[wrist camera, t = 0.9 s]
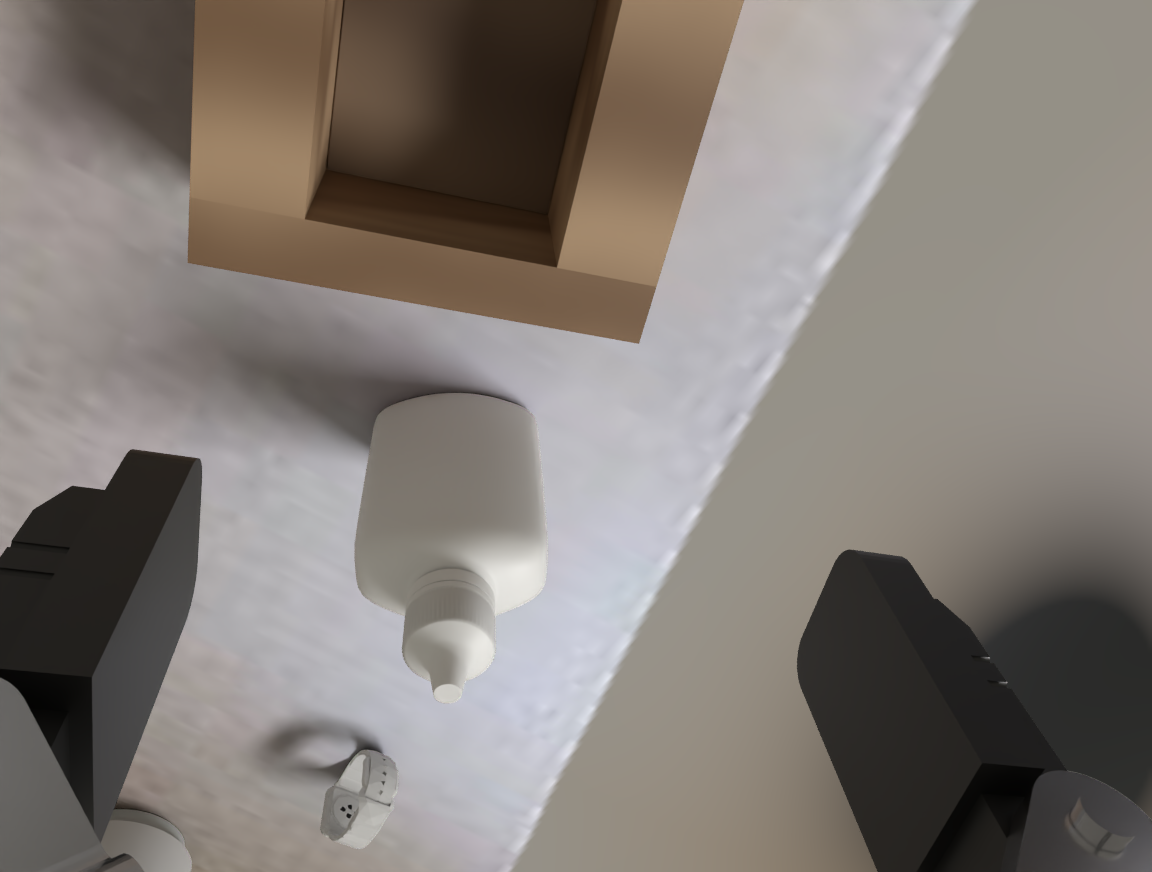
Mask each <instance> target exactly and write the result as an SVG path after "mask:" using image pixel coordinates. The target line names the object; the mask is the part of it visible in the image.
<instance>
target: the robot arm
mask: <svg viewBox="0 0 1152 872" xmlns="http://www.w3.org/2000/svg"><path fill="white" fill-rule="evenodd" d="M201 486H202V465H201V460H200V459H199V458H192V457H185V456H178V455H170V454H163V453H156V452H149V451H141V450H134V449H132V450H130V451H129V452H128V453H127V454H126V456H125V457H124V459H123V461H122V462H121V464H120V466H119V467H118V469H117V471H116V472H115V474H114V476H113V477H112V479H111V481H110V482H109V484H108V486H107V487H106V489H105V490H100V489H93V488H85V487H77V486H71V487H70V488H68V489H66V490H65V491H63V492H61V493H60V494H58V495H57V496H55V497H53V498H52V499H50V500H48V501H47V502H45V503H44V504H42V505H40V506H39V507H37V508H35V509H34V510H33V511H32V512H31V514H30V515H29V517H28V518H27V520H26V521H25V522H24V524H23V525H22V527H21V528H20V530H19V531H18V532H17V534H16V535H15V537H14V538H13V540H12V543H11V547H7V548H6V550H5V551H4V553H3V554H2V555H1V557H0V872H144V870H143V869H142V868H141V866H140V865H139V863H138V862H137V861H136V860H135V859H134V858H133V857H132V856H130V855H129V854H126V853H123V854H120V855H118V856H116V857H114V858H111V857H109V855H108V854H107V853H106V851H105V850H104V848H103V847H102V845H101V841H102V839H103V836H104V833H105V831H106V828H107V826H108V823H109V820H110V818H111V815H112V813H113V810H114V807H115V805H116V802H117V799H118V797H119V794H120V792H121V789H122V786H123V784H124V781H125V779H126V776H127V773H128V771H129V768H130V766H131V763H132V760H133V758H134V755H135V753H136V750H137V747H138V745H139V742H140V740H141V737H142V734H143V732H144V729H145V726H146V724H147V721H148V719H149V716H150V713H151V711H152V708H153V706H154V703H155V700H156V698H157V695H158V693H159V690H160V687H161V685H162V682H163V680H164V677H165V674H166V672H167V669H168V666H169V664H170V661H171V659H172V656H173V653H174V651H175V648H176V646H177V643H178V640H179V638H180V635H181V633H182V630H183V627H184V625H185V622H186V619H187V616H188V613H189V610H190V606H191V602H192V597H193V593H194V587H195V581H196V574H197V563H198V543H199V524H200V505H201ZM989 659H990V656H989V655H988V654H987V652H986V651H985V649H984V648H983V646H982V645H981V643H980V642H979V640H978V639H977V637H976V636H975V634H974V633H973V631H972V630H971V629H970V627H969V626H968V625H966V624H965V623H964V622H963V621H962V620H961V619H959V618H958V617H957V616H956V615H955V614H954V613H953V612H951V610H949V609H948V608H947V607H946V606H945V605H944V604H943V603H941V602H940V601H939V600H938V599H933V597H932V595H931V594H930V593H929V591H928V589H927V588H926V586H925V585H924V583H923V582H922V580H921V579H920V577H919V576H918V574H917V573H916V571H915V570H914V568H913V567H912V565H911V564H910V562H909V561H908V560H907V559H905V558H903V557H900V556H893V555H886V554H878V553H871V552H864V551H856V550H846V551H844V552H843V553H841V555H839V557H838V558H837V560H836V561H835V563H834V565H833V567H832V570H831V572H830V574H829V577H828V579H827V581H826V583H825V586H824V588H823V590H822V593H821V595H820V597H819V599H818V602H817V604H816V606H815V609H814V611H813V613H812V615H811V617H810V620H809V622H808V624H807V627H806V629H805V631H804V633H803V636H802V638H801V641H800V645H799V650H798V658H797V672H798V679H799V683H800V686H801V689H802V692H803V694H804V696H805V699H806V701H807V703H808V706H809V708H810V711H811V713H812V715H813V718H814V720H815V723H816V725H817V728H818V730H819V732H820V735H821V737H822V740H823V742H824V744H825V747H826V749H827V752H828V754H829V756H830V759H831V761H832V763H833V766H834V768H835V770H836V773H837V775H838V778H839V780H840V783H841V785H842V787H843V790H844V792H845V795H846V797H847V799H848V802H849V804H850V806H851V809H852V811H853V814H854V816H855V818H856V821H857V823H858V825H859V828H860V830H861V833H862V835H863V838H864V840H865V842H866V845H867V847H868V849H869V852H870V854H871V857H872V859H873V861H874V864H875V866H876V869H877V871H878V872H1152V820H1151V819H1150V818H1149V817H1148V816H1147V815H1146V814H1145V813H1144V812H1143V811H1142V810H1141V809H1140V808H1139V807H1138V806H1137V805H1135V804H1134V803H1133V802H1132V801H1131V800H1129V799H1128V798H1126V797H1125V796H1124V795H1122V794H1121V793H1119V792H1118V791H1116V790H1115V789H1113V788H1111V787H1110V786H1108V785H1106V784H1104V783H1102V782H1100V781H1098V780H1096V779H1094V778H1091V777H1089V776H1086V775H1083V774H1079V773H1075V772H1070V771H1067V770H1066V768H1065V767H1064V765H1063V764H1062V762H1061V761H1060V759H1059V758H1058V756H1057V755H1056V753H1055V752H1054V751H1053V749H1052V748H1051V746H1050V745H1049V743H1048V742H1047V740H1046V739H1045V737H1044V736H1043V734H1042V733H1041V732H1040V730H1039V729H1038V727H1037V726H1036V724H1035V723H1034V721H1033V720H1032V718H1031V717H1030V715H1029V714H1028V712H1027V711H1026V709H1025V708H1024V706H1023V705H1022V703H1021V702H1020V701H1019V699H1018V698H1017V696H1016V695H1015V693H1014V692H1013V690H1012V689H1010V688H1007V687H1006V684H1007V682H1006V680H1005V679H1004V677H1003V676H1002V674H1001V673H1000V671H999V670H998V668H997V667H996V665H995V664H994V663H990V660H989Z"/></svg>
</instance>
